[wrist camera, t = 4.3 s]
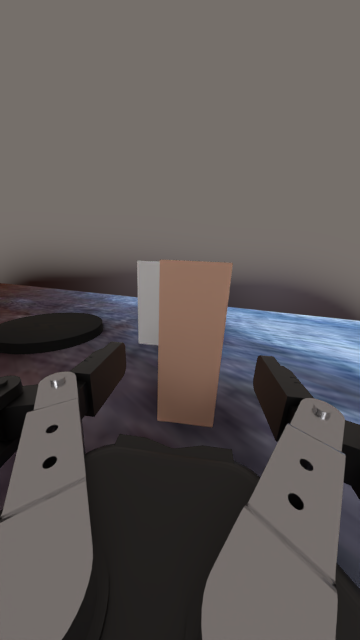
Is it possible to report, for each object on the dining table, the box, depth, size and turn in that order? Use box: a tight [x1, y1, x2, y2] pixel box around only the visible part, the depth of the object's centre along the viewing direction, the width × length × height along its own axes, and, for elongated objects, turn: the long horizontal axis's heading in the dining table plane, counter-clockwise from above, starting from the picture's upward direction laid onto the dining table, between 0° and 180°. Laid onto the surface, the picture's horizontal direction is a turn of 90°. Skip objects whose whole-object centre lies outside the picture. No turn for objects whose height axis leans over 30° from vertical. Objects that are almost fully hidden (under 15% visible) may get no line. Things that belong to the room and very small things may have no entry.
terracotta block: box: [157, 260, 233, 427], centre depth 17 cm, size 5×5×14 cm
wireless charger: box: [0, 313, 103, 354], centre depth 36 cm, size 18×18×2 cm
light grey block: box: [137, 261, 160, 345], centre depth 33 cm, size 5×5×14 cm
